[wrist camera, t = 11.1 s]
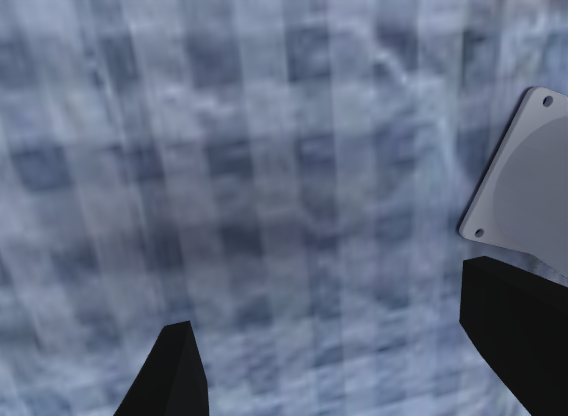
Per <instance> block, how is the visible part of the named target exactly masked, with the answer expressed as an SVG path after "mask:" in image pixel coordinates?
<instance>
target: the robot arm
mask: <svg viewBox="0 0 568 416" xmlns="http://www.w3.org/2000/svg"><path fill="white" fill-rule="evenodd" d="M545 97H547V100H546V102H545V104H544V105H543V100H544V99H545ZM478 229H480V230H479V232H478V233H476V234H475V232H476V231H477V230H478ZM459 233H460V234H461V236H463V237H464V238H466V239H468V240H472V241H477V242H481V243H485V244H490V245H494V246H498V247H503V248H507V249H512V250H516V251H520V252H525V253H529V254H532V255H534V256H535V257H537V258H538V259H540V260H541V261H543V262H544V263H545V264H547V265H548V266H550V267H551V268H553V269H554V270H556V271H557V272H559V273H560V274H562V275H563V276H565V277H566V278H568V96H566V95H563V94H560V93H558V92H555V91H552V90H550V89H547V88H544V87H538V86H536V87H533V88H531V89H530V90H529V91H528V92H527V94H526V95H525V97H524V99H523V101H522V103H521V105H520V107H519V109H518V111H517V113H516V115H515V117H514V119H513V121H512V123H511V125H510V127H509V129H508V131H507V133H506V135H505V137H504V139H503V141H502V143H501V146H500V148H499V150H498V152H497V154H496V156H495V158H494V160H493V162H492V164H491V166H490V168H489V170H488V172H487V174H486V176H485V178H484V180H483V182H482V184H481V186H480V188H479V190H478V192H477V194H476V196H475V198H474V200H473V202H472V204H471V206H470V208H469V210H468V212H467V214H466V216H465V218H464V220H463V222H462V224H461V226H460V229H459ZM459 322H460V324H461V325H462V327H463V329H464V330H465V332H466V333H467V335H468V337H469V338H470V340H471V341H472V343H473V344H474V346H475V347H476V349H477V350H478V352H479V353H480V355H481V356H482V357H483V359H484V360H485V361H486V362H487V363H488V365H489V366H490V367H491V368H492V369H493V371H494V372H495V373H496V374H497V375H498V377H499V378H500V379H501V380H502V381H503V383H504V384H505V385H506V386H507V387H508V388H509V390H510V391H511V392H512V393H513V394H514V396H515V397H516V398H517V399H518V400H519V401H520V403H521V404H522V405H523V406H524V407H525V408H526V410H527V411H528V412H529V413H530V414H531V416H568V287H565V286H563V285H560V284H558V283H555V282H553V281H550V280H547V279H545V278H542V277H540V276H537V275H535V274H532V273H530V272H527V271H525V270H522V269H520V268H517V267H515V266H512V265H509V264H507V263H504V262H501V261H499V260H496V259H493V258H490V257H487V256H482V257H477V258H473V259H468V260H464V261H463V272H462V288H461V303H460V319H459ZM113 416H209V401H208V386H207V379H206V376H205V372H204V369H203V365H202V362H201V358H200V355H199V351H198V348H197V344H196V341H195V337H194V334H193V330H192V327H191V323H190V321H185V322H181V323H176V324H172V325H167V326H164V328H163V329H162V330H161V332H160V334H159V336H158V338H157V340H156V342H155V344H154V346H153V348H152V350H151V352H150V353H149V355H148V357H147V359H146V361H145V363H144V365H143V366H142V368H141V370H140V372H139V374H138V375H137V377H136V379H135V380H134V382H133V384H132V386H131V387H130V389H129V391H128V392H127V394H126V396H125V398H124V399H123V401H122V403H121V404H120V406H119V407H118V409H117V410H116V412H115V414H114V415H113Z"/></svg>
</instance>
